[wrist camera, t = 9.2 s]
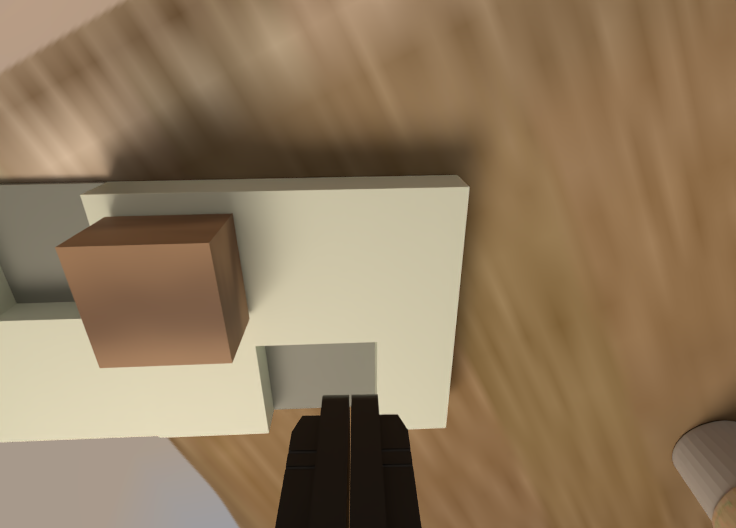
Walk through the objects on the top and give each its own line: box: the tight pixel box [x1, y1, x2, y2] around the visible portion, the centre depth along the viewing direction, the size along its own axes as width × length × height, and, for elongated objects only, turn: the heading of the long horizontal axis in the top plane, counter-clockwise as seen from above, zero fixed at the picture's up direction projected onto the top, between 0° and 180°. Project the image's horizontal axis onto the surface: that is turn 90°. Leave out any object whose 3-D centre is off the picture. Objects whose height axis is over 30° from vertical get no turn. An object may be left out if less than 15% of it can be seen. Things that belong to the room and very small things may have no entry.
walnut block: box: [55, 213, 250, 368], centre depth 19 cm, size 6×6×4 cm
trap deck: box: [0, 175, 470, 442], centre depth 23 cm, size 16×31×5 cm, turn 90°
